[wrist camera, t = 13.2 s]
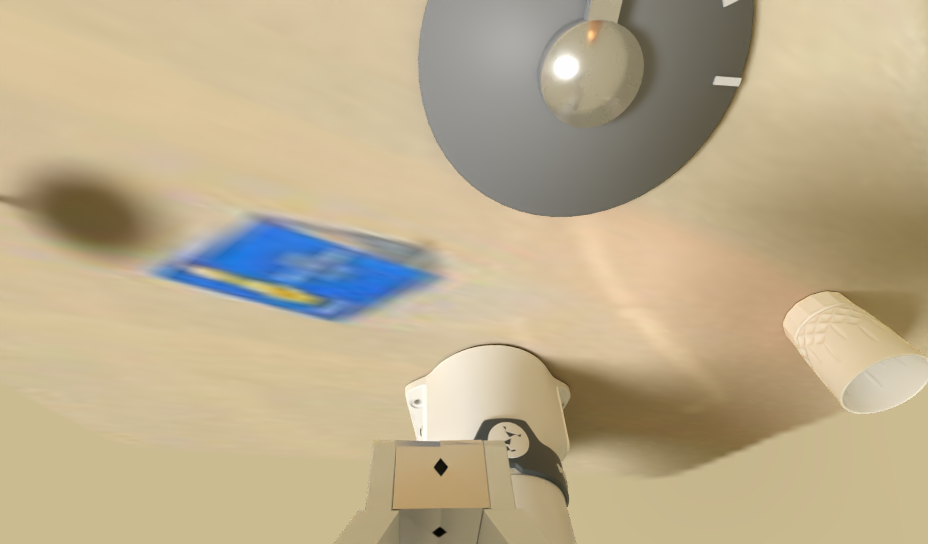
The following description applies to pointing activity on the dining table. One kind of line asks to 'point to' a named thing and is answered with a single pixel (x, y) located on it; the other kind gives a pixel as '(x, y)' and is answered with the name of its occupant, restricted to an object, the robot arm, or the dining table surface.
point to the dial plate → (545, 136)
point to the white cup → (855, 353)
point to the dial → (591, 67)
